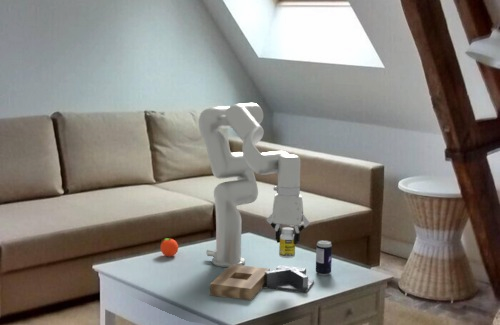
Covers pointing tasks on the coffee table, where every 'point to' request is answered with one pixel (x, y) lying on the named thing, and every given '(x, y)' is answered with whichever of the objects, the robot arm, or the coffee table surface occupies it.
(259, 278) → the wooden block with hole
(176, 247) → the clementine
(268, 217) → the robot arm
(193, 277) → the coffee table surface
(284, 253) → the supplement bottle
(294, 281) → the v block
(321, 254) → the beverage can
